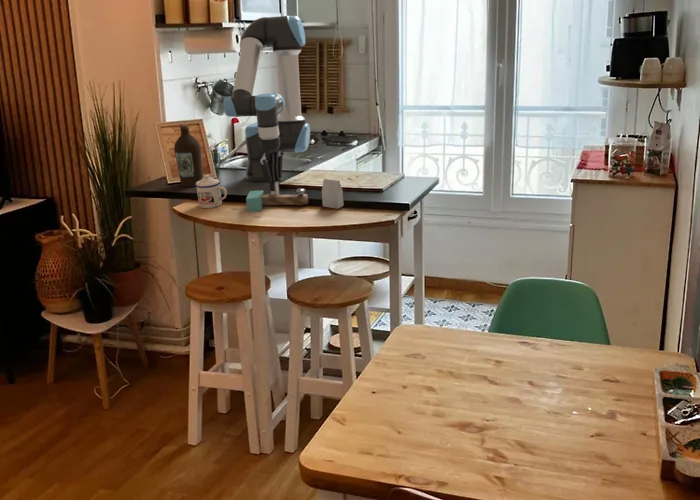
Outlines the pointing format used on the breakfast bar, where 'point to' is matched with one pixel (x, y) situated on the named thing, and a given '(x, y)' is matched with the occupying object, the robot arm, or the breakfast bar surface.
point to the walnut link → (284, 199)
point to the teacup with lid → (209, 192)
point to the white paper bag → (332, 194)
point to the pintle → (300, 191)
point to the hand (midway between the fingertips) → (275, 198)
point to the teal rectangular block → (254, 201)
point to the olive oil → (188, 158)
